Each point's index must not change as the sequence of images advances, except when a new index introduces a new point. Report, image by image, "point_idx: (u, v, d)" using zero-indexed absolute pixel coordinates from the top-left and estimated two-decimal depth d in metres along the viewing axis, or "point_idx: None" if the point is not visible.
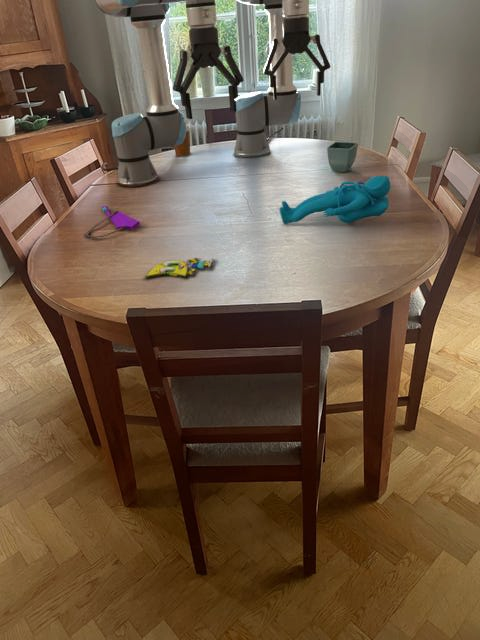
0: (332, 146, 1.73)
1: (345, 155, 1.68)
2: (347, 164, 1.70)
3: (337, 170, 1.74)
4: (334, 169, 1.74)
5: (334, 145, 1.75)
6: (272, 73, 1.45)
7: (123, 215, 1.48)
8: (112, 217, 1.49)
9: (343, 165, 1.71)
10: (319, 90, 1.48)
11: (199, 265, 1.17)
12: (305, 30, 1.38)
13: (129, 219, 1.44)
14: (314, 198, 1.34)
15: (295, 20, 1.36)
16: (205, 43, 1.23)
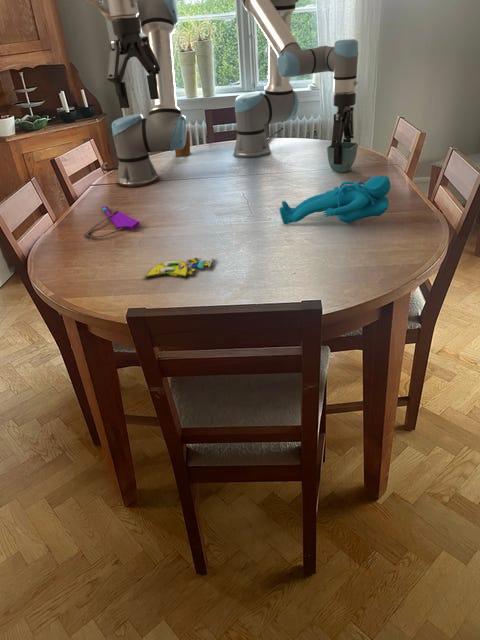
0: (332, 146, 1.73)
1: (345, 155, 1.68)
2: (347, 164, 1.70)
3: (337, 170, 1.74)
4: (334, 169, 1.74)
5: None
6: None
7: (123, 215, 1.48)
8: (112, 217, 1.49)
9: (343, 165, 1.71)
10: None
11: (199, 265, 1.17)
12: None
13: (129, 219, 1.44)
14: (314, 198, 1.34)
15: (354, 95, 1.60)
16: (134, 32, 1.28)
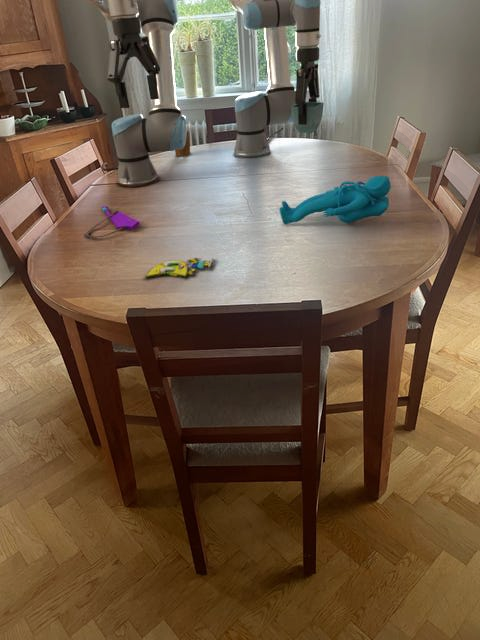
0: (297, 106, 1.67)
1: (310, 114, 1.61)
2: (312, 124, 1.63)
3: (303, 131, 1.67)
4: (299, 130, 1.67)
5: None
6: (305, 101, 1.59)
7: (123, 215, 1.48)
8: (112, 217, 1.49)
9: (308, 125, 1.64)
10: None
11: (199, 265, 1.17)
12: None
13: (129, 219, 1.44)
14: (314, 198, 1.34)
15: (317, 49, 1.53)
16: (134, 32, 1.28)
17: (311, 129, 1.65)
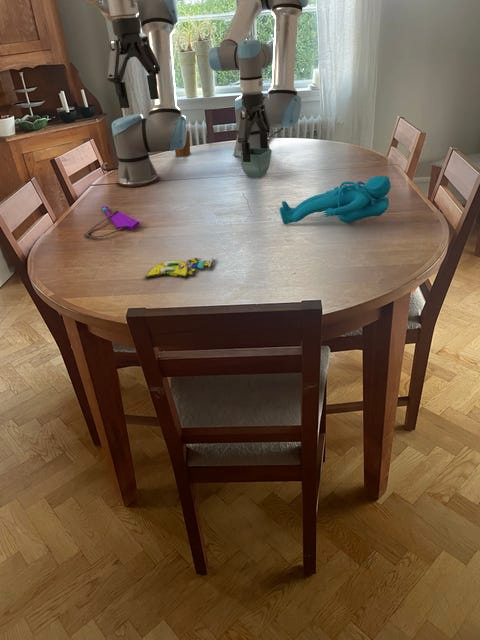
0: None
1: (256, 161, 1.70)
2: (259, 170, 1.72)
3: (251, 176, 1.76)
4: (248, 175, 1.76)
5: None
6: (247, 140, 1.64)
7: (123, 215, 1.48)
8: (112, 217, 1.49)
9: (255, 171, 1.73)
10: (267, 147, 1.78)
11: (199, 265, 1.17)
12: None
13: (129, 219, 1.44)
14: (314, 198, 1.34)
15: (260, 95, 1.61)
16: (134, 32, 1.28)
17: (258, 174, 1.74)
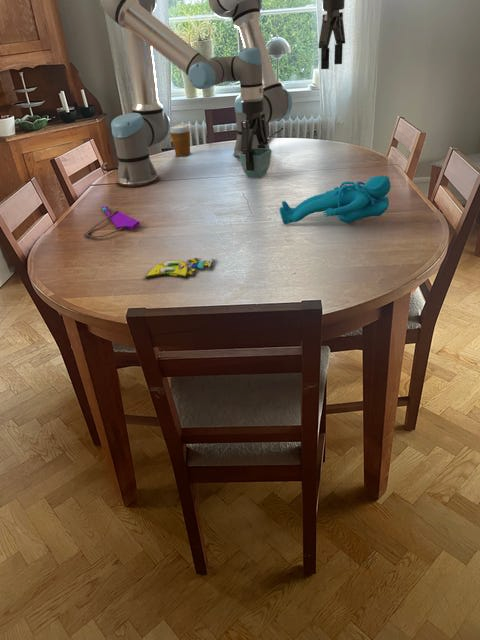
0: None
1: (256, 161, 1.70)
2: (259, 170, 1.72)
3: (251, 176, 1.76)
4: (248, 175, 1.76)
5: None
6: (328, 45, 1.65)
7: (123, 215, 1.48)
8: (112, 217, 1.49)
9: (255, 171, 1.73)
10: (341, 59, 1.78)
11: (199, 265, 1.17)
12: None
13: (129, 219, 1.44)
14: (314, 198, 1.34)
15: None
16: (260, 111, 1.63)
17: (258, 175, 1.74)
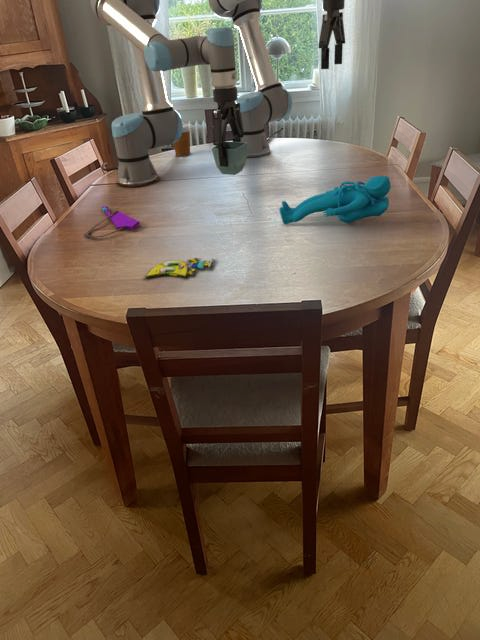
0: None
1: (230, 156, 1.52)
2: (234, 166, 1.54)
3: (226, 173, 1.58)
4: (223, 172, 1.58)
5: None
6: (328, 45, 1.65)
7: (123, 215, 1.48)
8: (112, 217, 1.49)
9: (230, 167, 1.55)
10: (341, 59, 1.78)
11: (199, 265, 1.17)
12: None
13: (129, 219, 1.44)
14: (314, 198, 1.34)
15: None
16: (233, 100, 1.45)
17: (234, 171, 1.55)
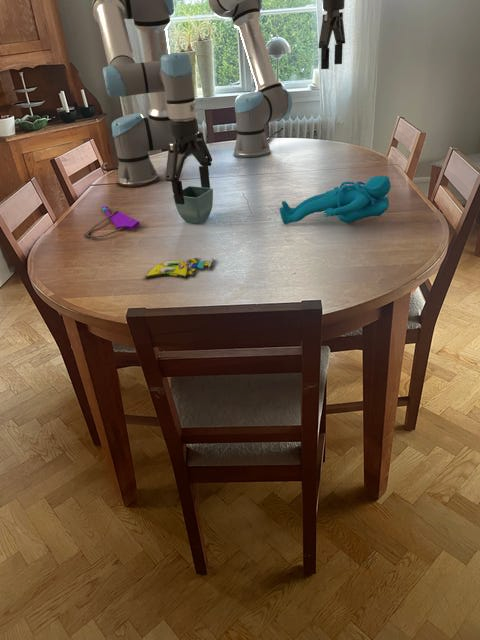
0: (183, 192, 1.42)
1: (193, 205, 1.37)
2: (197, 215, 1.39)
3: (189, 221, 1.43)
4: (186, 220, 1.43)
5: (187, 190, 1.44)
6: (328, 45, 1.65)
7: (123, 215, 1.48)
8: (112, 217, 1.49)
9: (193, 216, 1.40)
10: (341, 59, 1.78)
11: (199, 265, 1.17)
12: None
13: (129, 219, 1.44)
14: (314, 198, 1.34)
15: None
16: (193, 134, 1.28)
17: (197, 220, 1.40)
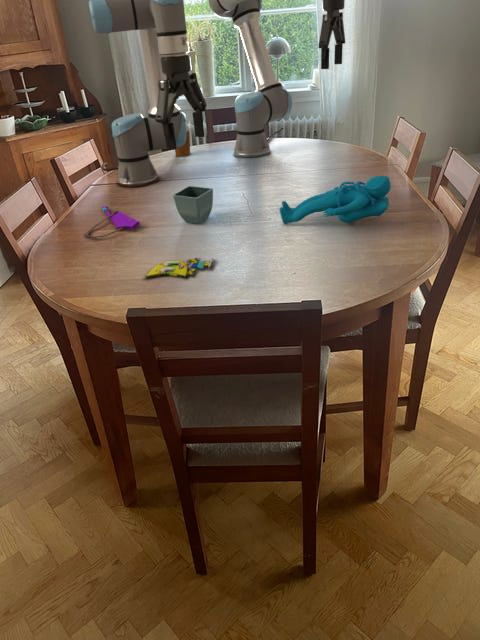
0: (183, 192, 1.42)
1: (193, 205, 1.37)
2: (197, 215, 1.39)
3: (189, 221, 1.43)
4: (186, 220, 1.43)
5: (187, 190, 1.44)
6: (328, 45, 1.65)
7: (123, 215, 1.48)
8: (112, 217, 1.49)
9: (193, 216, 1.40)
10: (341, 59, 1.78)
11: (199, 265, 1.17)
12: None
13: (129, 219, 1.44)
14: (314, 198, 1.34)
15: None
16: (185, 71, 1.20)
17: (197, 220, 1.40)
